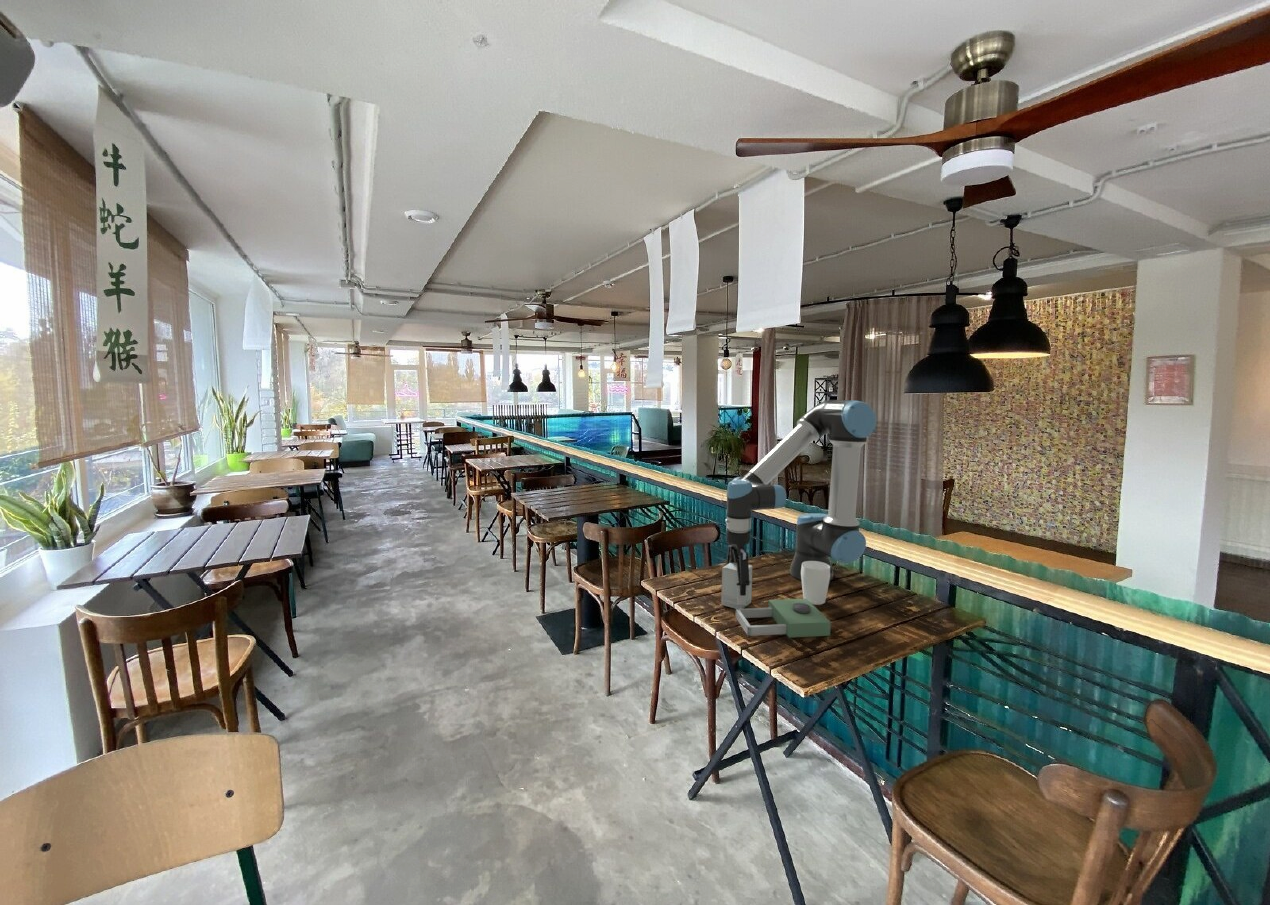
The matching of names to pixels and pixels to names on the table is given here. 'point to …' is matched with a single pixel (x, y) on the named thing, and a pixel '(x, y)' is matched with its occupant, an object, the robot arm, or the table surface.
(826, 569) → the cup
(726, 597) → the supplement box
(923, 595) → the table surface
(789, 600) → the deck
